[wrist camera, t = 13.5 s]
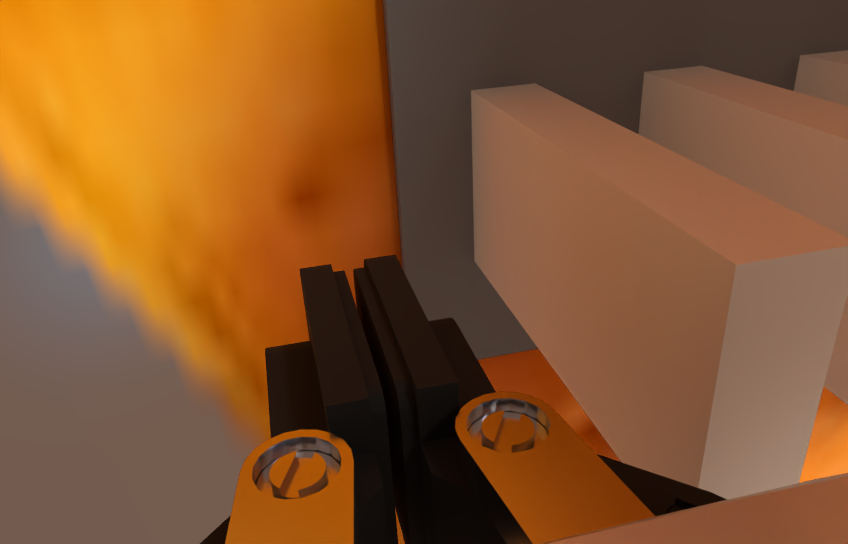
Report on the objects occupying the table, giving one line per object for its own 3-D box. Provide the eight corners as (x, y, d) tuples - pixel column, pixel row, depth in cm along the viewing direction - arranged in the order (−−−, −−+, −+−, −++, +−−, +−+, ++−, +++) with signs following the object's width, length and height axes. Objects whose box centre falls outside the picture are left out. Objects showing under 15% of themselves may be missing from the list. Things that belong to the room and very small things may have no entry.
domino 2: (629, 236, 21) (951, 484, 12) (644, 71, 19) (1058, 210, 9) (681, 229, 22) (1036, 462, 12) (702, 65, 19) (1158, 193, 10)
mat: (409, 364, 22) (412, 371, 22) (379, -52, 16) (382, -53, 16) (1099, 239, 27) (1110, 242, 27) (1247, -107, 22) (1264, -108, 21)
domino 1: (474, 261, 20) (687, 552, 11) (471, 90, 18) (736, 264, 8) (531, 252, 21) (787, 526, 11) (535, 83, 18) (860, 243, 9)
